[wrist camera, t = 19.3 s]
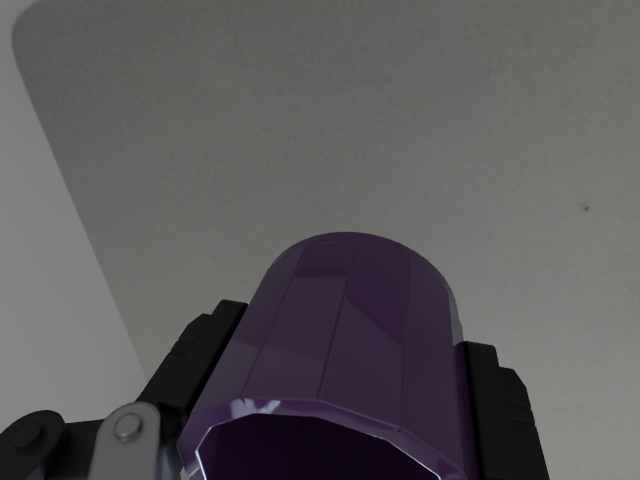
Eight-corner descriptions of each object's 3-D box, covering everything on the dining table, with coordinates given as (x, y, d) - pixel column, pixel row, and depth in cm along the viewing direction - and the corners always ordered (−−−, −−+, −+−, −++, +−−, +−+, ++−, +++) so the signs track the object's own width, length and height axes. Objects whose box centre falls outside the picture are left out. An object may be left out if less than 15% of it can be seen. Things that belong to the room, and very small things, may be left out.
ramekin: (224, 284, 13) (122, 439, 9) (384, 190, 10) (353, 354, 6) (335, 396, 15) (299, 569, 11) (498, 346, 12) (543, 559, 8)
